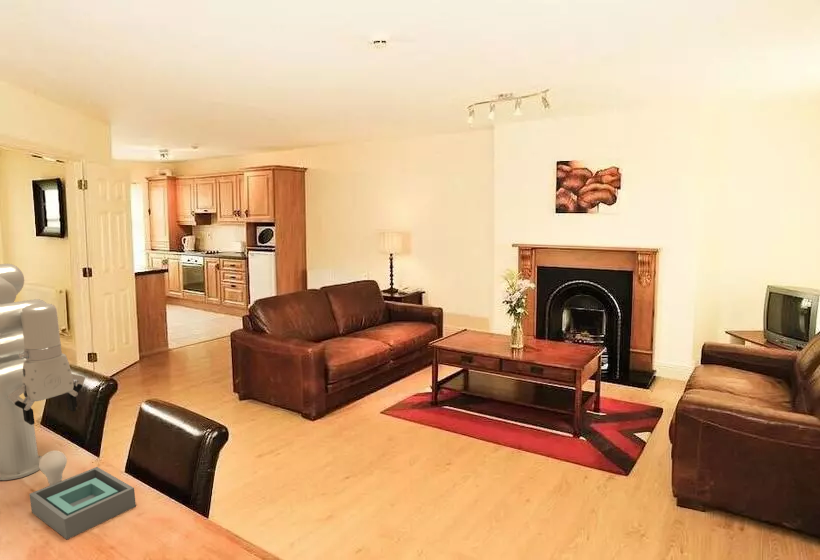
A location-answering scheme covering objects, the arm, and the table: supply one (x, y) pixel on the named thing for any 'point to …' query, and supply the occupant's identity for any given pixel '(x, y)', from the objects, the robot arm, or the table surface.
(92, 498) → the open box
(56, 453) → the lightbulb
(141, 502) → the table surface
